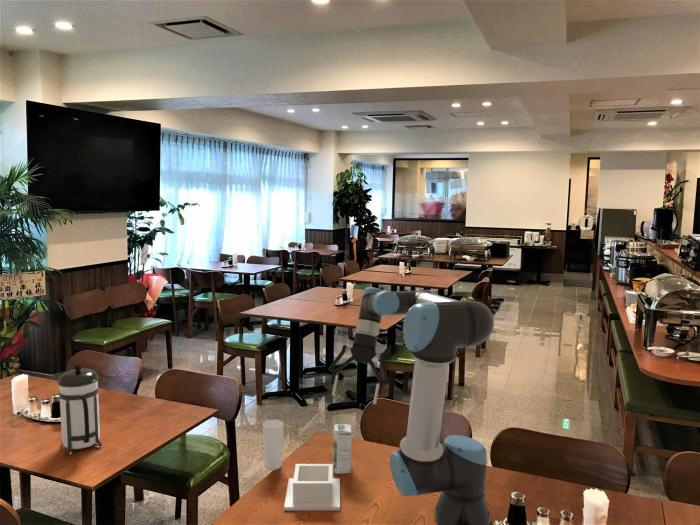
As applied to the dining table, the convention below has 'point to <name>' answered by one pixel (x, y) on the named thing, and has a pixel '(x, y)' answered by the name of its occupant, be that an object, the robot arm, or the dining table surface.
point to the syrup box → (342, 449)
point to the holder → (313, 488)
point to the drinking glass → (273, 443)
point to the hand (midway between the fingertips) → (353, 399)
